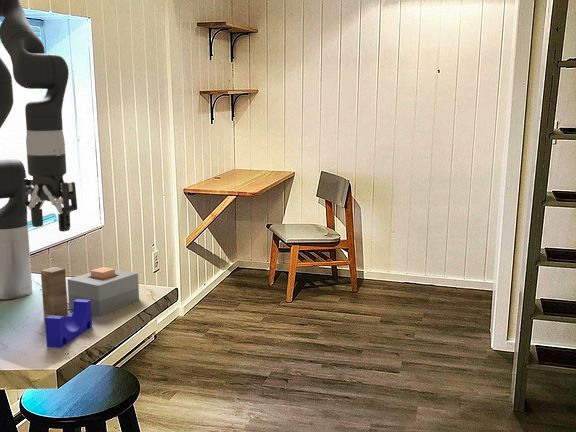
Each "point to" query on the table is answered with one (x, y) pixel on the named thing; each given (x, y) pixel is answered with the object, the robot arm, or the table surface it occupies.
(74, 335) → the blue bent block
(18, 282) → the robot arm
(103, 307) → the box
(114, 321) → the table surface
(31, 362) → the table surface
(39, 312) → the table surface
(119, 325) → the table surface
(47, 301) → the brown wooden plank
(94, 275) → the button
